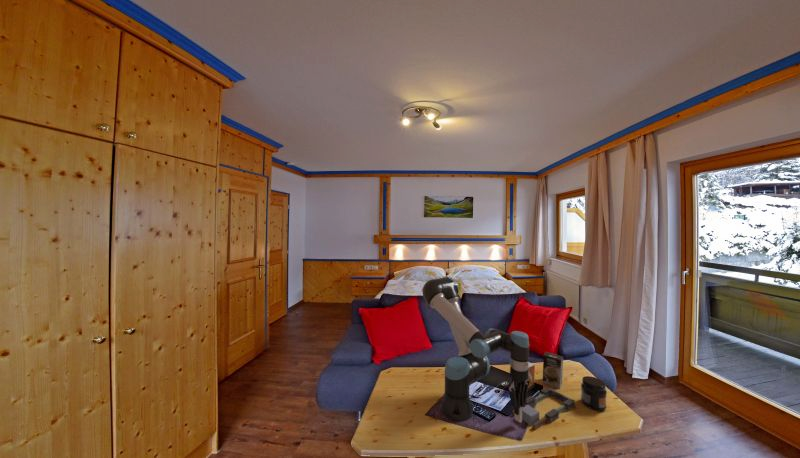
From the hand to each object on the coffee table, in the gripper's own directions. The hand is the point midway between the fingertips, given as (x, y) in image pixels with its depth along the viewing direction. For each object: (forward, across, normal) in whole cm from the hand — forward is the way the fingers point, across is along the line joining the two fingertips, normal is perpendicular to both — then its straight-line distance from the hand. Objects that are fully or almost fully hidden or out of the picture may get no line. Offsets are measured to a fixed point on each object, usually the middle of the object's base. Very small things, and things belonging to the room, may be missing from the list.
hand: (518, 420), depth 123 cm
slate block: (+3, +8, 0) cm, 9 cm away
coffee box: (+3, +47, +11) cm, 48 cm away
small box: (+3, +30, +16) cm, 34 cm away
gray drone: (+3, +20, 0) cm, 20 cm away
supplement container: (+3, +46, -10) cm, 47 cm away
